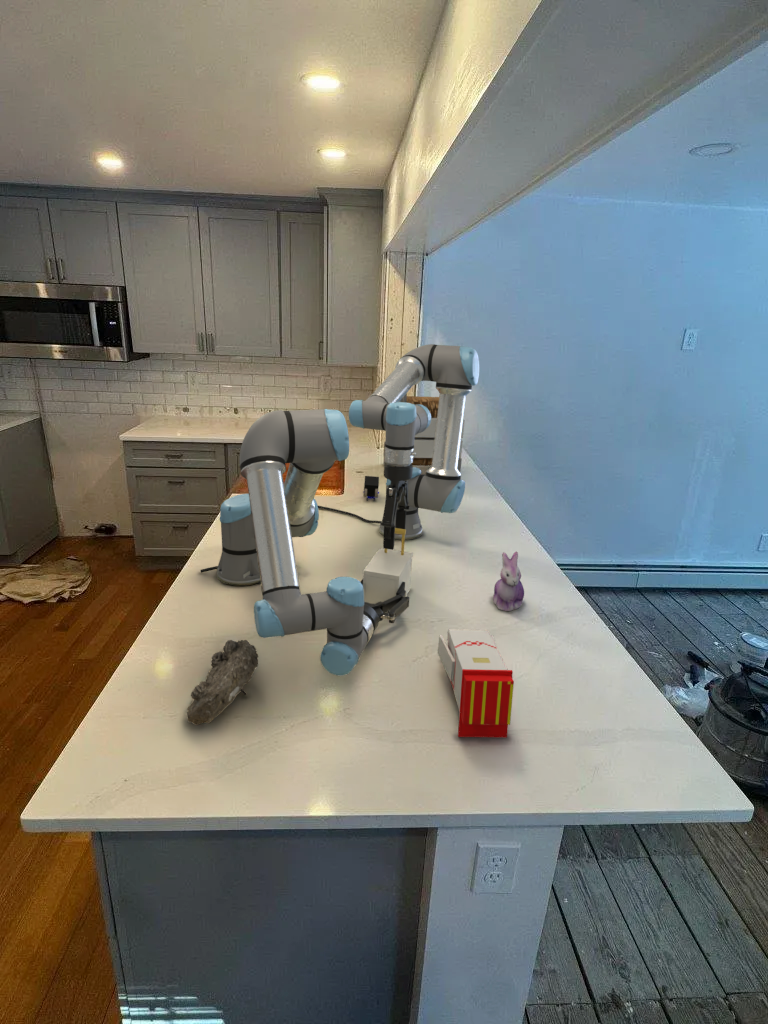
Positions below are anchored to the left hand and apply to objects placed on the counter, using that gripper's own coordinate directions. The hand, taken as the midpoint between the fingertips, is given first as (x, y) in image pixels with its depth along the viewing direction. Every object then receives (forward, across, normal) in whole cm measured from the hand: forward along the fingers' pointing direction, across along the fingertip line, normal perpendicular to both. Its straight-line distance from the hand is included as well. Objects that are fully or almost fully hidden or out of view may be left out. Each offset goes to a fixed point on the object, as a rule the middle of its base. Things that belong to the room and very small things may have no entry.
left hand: (384, 583), depth 150 cm
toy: (-30, +27, -6) cm, 40 cm away
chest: (+3, 0, -6) cm, 7 cm away
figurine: (+12, +32, -6) cm, 35 cm away
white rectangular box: (+4, 0, +4) cm, 5 cm away
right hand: (+9, 0, +9) cm, 13 cm away
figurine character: (+86, -29, -6) cm, 91 cm away
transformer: (+130, -18, -6) cm, 132 cm away
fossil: (-46, -20, -6) cm, 51 cm away
